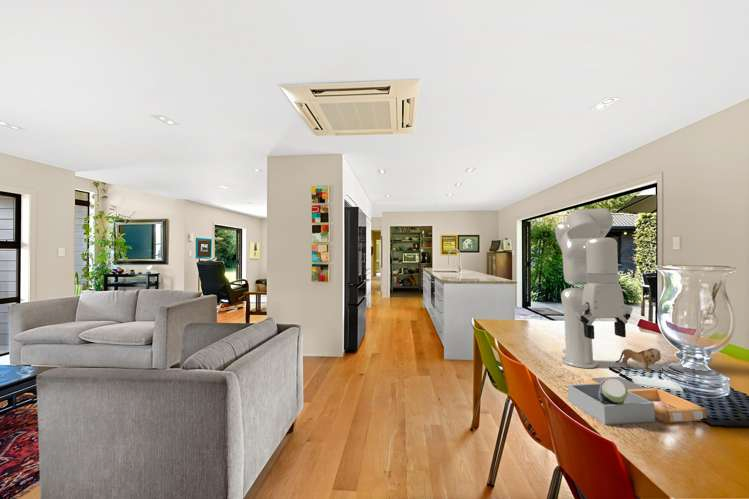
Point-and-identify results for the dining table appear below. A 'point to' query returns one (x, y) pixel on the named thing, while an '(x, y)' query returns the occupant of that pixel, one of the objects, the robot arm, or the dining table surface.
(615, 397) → the beverage can
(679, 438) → the dining table surface
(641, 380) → the hard drive
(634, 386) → the case
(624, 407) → the parts bin
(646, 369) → the lion figurine
